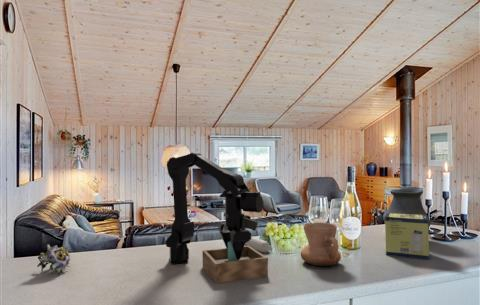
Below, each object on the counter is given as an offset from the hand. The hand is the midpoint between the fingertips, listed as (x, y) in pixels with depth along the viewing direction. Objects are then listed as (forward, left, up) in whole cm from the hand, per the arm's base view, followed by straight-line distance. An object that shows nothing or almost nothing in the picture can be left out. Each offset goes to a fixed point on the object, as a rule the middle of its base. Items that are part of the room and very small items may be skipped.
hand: (233, 255), depth 117 cm
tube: (+17, +29, -6) cm, 34 cm away
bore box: (0, 0, -5) cm, 5 cm away
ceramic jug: (+33, -3, -6) cm, 34 cm away
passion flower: (-59, +22, -6) cm, 63 cm away
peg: (0, 0, -5) cm, 5 cm away
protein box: (+72, -5, -6) cm, 72 cm away
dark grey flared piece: (+91, +13, -6) cm, 92 cm away
